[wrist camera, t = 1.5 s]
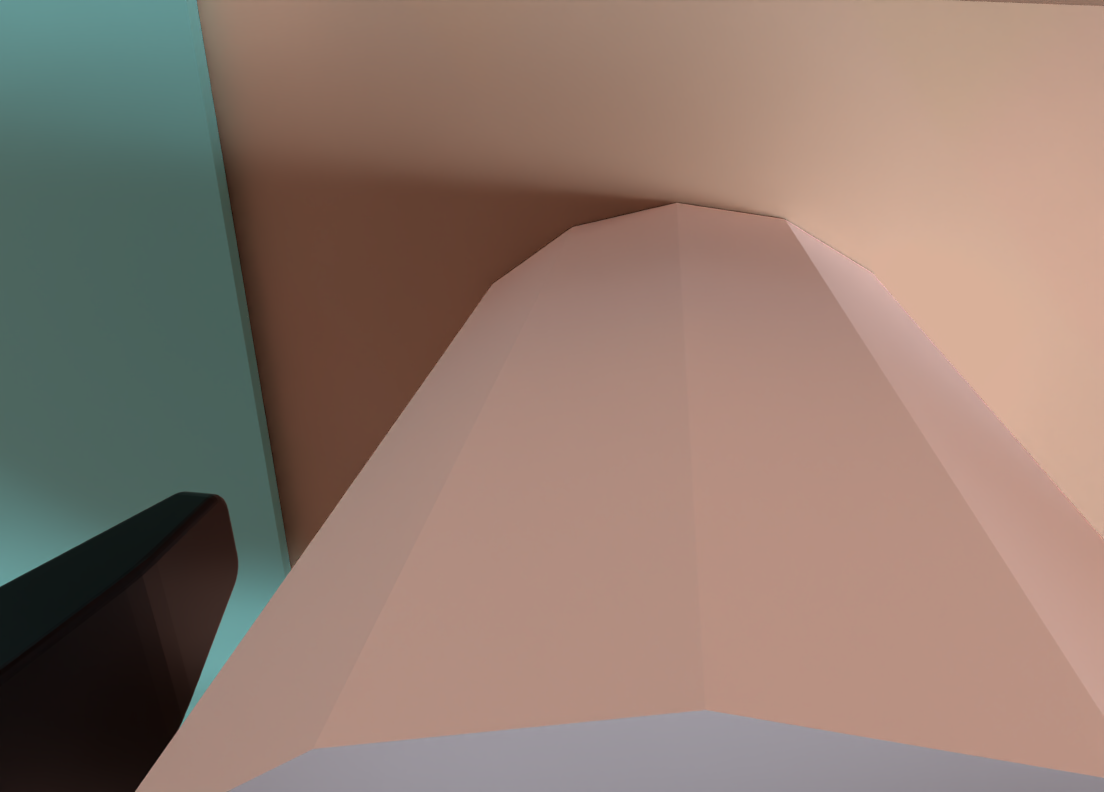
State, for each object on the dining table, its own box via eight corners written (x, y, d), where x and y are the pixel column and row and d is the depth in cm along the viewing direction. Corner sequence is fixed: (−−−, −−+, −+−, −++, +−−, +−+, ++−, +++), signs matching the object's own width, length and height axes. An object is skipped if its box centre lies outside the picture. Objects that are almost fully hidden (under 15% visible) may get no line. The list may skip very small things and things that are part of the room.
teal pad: (318, 735, 14) (314, 746, 14) (-43, 695, 14) (-51, 705, 14) (165, -187, 8) (154, -189, 7) (-458, -202, 8) (-482, -202, 8)
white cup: (283, 439, 11) (-180, 1118, 5) (675, -20, 8) (716, 302, 2) (680, 719, 13) (695, 1472, 7) (1124, 434, 10) (1889, 1349, 4)
